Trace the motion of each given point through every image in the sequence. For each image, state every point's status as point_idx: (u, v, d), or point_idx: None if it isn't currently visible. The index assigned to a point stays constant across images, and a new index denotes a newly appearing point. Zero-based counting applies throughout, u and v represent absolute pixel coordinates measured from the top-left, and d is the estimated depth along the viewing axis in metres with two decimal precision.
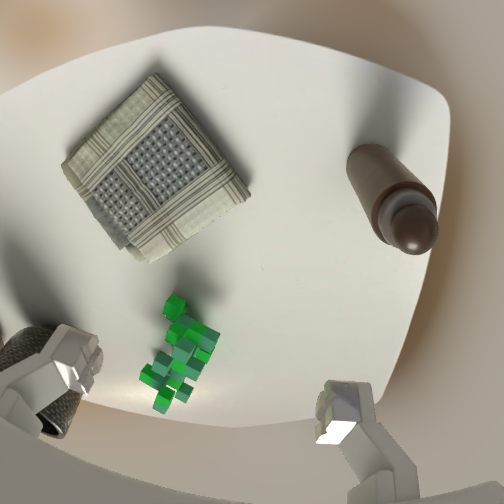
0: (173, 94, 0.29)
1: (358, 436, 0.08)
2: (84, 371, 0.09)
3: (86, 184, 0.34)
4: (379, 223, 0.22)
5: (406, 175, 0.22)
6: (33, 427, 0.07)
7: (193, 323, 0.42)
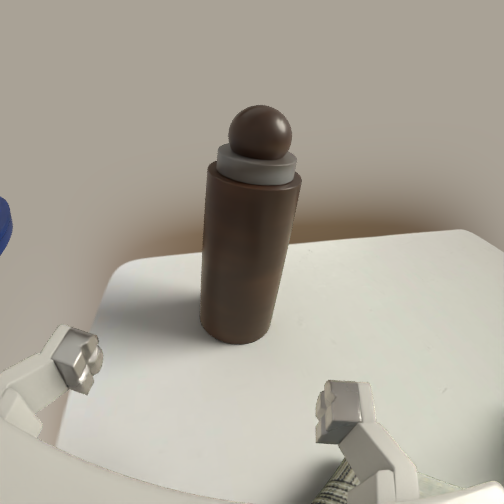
0: None
1: (358, 436, 0.08)
2: (84, 371, 0.09)
3: None
4: (278, 175, 0.17)
5: (206, 192, 0.18)
6: (33, 427, 0.07)
7: None
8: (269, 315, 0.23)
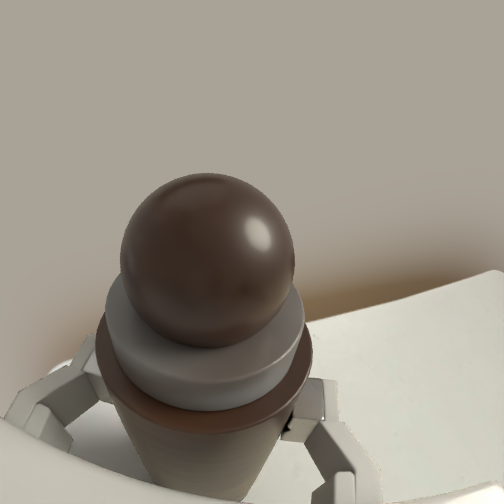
0: None
1: (321, 435, 0.08)
2: None
3: None
4: (252, 390, 0.06)
5: None
6: (64, 442, 0.07)
7: None
8: (249, 489, 0.12)
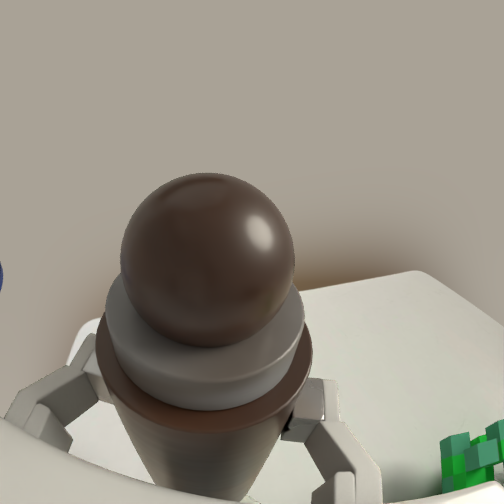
0: None
1: (321, 435, 0.08)
2: None
3: None
4: (251, 389, 0.06)
5: None
6: (64, 442, 0.07)
7: (446, 476, 0.19)
8: (249, 488, 0.12)
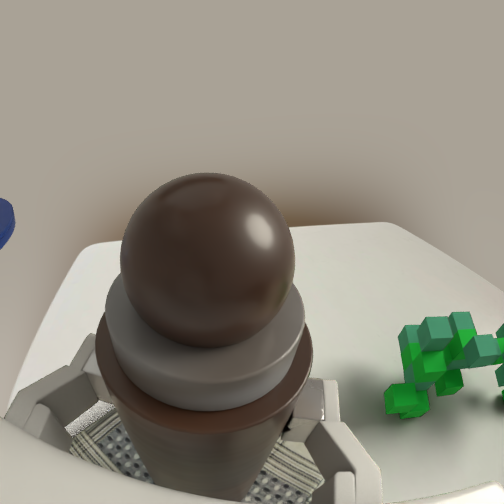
0: (72, 438, 0.18)
1: (321, 435, 0.08)
2: None
3: None
4: (252, 390, 0.06)
5: None
6: (64, 442, 0.07)
7: (406, 367, 0.25)
8: (249, 489, 0.12)
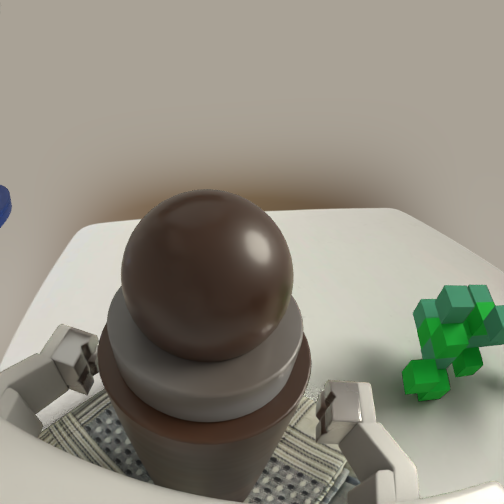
0: (57, 421, 0.16)
1: (358, 436, 0.08)
2: (84, 371, 0.09)
3: None
4: (251, 402, 0.06)
5: None
6: (33, 427, 0.07)
7: (424, 344, 0.24)
8: (249, 492, 0.12)
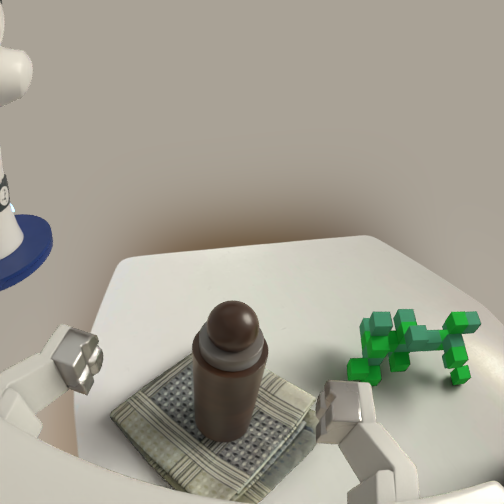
0: (131, 397, 0.31)
1: (358, 436, 0.08)
2: (84, 371, 0.09)
3: (241, 482, 0.24)
4: (246, 364, 0.21)
5: None
6: (33, 427, 0.07)
7: (363, 348, 0.38)
8: (247, 424, 0.27)
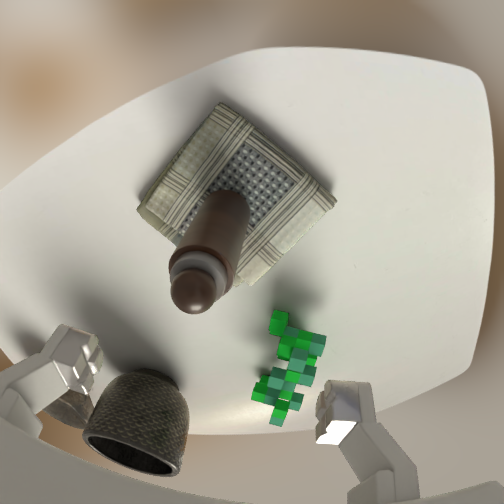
0: (245, 120, 0.32)
1: (358, 436, 0.08)
2: (84, 371, 0.09)
3: (170, 223, 0.38)
4: None
5: (193, 236, 0.26)
6: (33, 427, 0.07)
7: (299, 332, 0.44)
8: None
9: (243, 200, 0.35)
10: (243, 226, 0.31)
